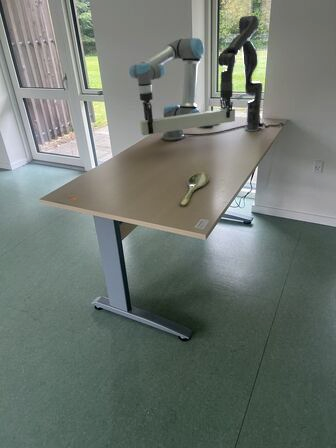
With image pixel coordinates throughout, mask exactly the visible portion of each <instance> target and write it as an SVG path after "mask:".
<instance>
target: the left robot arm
mask: <svg viewBox="0 0 336 448" xmlns="http://www.w3.org/2000/svg"><path fill="white" fill-rule="evenodd" d="M204 55H205V46H204V43H203V40H202V39H200V38H198V37H197V38H196V37H192V38H191V37H189V38H179V39H175V40H173V41H172V42H170V43H168V44H166V45H165V46H164V47H163V49H161V50H160V51H158V52H157V53H155V54H153V55H152V56H150V57H148V58H146V59H145V60H143V61H141V62H140V63H138V64H132V65H130V66H129V69H128V70H129V75H130V77H131V78H132V79H136V80H137V83H138V85H137V86H138V93H139V100H140V101H142V105H143V116H144V120H148V122H147V123H148V130H149V134H150V135H153V134H152V133H153V124H152V122H153V119H154V118H153V107H152V106H153V105H152V103H151V102H150V101H151V100H153V99H154V96H153V85H152V81H153V80H158V79H160V78H161V79H162V78H163V77H164V76H165V73H166V70H165V67H164V64H166V63H168V62H172V61H174V60H179V59H181V61H182V63H183V64H184V65H183V82H182V83H183V84H182V99H181V100H182V101H181V104H171V105H166V106H165V107H164V108H163V118H165V117H171V116H178V115H185V114H192V113H199V112H200V110H199V109H198V108H197V107H198V106H197V104H196V92H197V91H196V89H197V76H198V66H199V64H200V63H201V60H202V59H203V57H204ZM239 128H246V124H244V125H240V126H236V127H231V128H228V129H224V130H220V131H214V132H206V133H184V132H183V129H182V130H176V131H169V132H163V135H162V139H163V140H164V141H167V142H176V141H180V140H182V139H184V137H185V136H187V135H188V136H204V135H205V136H206V135H214V134H219V133H224V132H227V131H232V130H236V129H239Z"/></svg>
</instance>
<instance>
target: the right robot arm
mask: <svg viewBox="0 0 336 448" xmlns="http://www.w3.org/2000/svg"><path fill="white" fill-rule="evenodd" d="M259 22H260V21H259V18H258V16H257V15H245V16H241V17H240V18H239V20H238V31H239V34H238V35H236V36H235V37H234V38H233V39H232V40H231V41H230V43H229V44H228V46H227V47H226V48H225V49H224V50H222V51H221V52H220V54H219V55H218V56H217V64H218V66H220V67H226V69H225V70H222V71H221V72H220V86H219V87H220V91H219V92H220V93H219V96H220V99H219V101H220V109H226V118H230V111H232V108H233V105H234V102H233V101H232V100H231V98H232V97H233V91H234V90H233V89H234V88H233V87H234V86H233V85H234V84H233V73H234V69H235V65H236V62H237V58H236V56H237V55H238V54H239V52H240V51H241V49H242V60H243V67H244V68H243V69H244V87H245V88H244V89H245V94H246V96H248V97H253V99H252V100H249V101H247V103H246V122H245V125H246V126H245V130H246V131H248V132H256V131H259V130H260V128H264V127H265V128H268V127H279V126H280V125H282V126H283V125H285V124H284V123H283V122H280V123H278V124H268V125H266V123H264V121H261V102H262V95H263V83H262V82H260V81H253V74H254V72H255V70H256V68H257V66H258V63H259V60H258V59H259V58H258V51H257V49H256V48H255V46H254V44H253V43H252V42H251V40H250V38H251V37H252V36H253V35H254V34H255V33H256V32H257V31H258V28H259V25H260V23H259ZM227 108H228V109H227ZM230 108H231V109H230Z"/></svg>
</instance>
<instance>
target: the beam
mask: <svg viewBox="0 0 336 448" xmlns="http://www.w3.org/2000/svg"><path fill="white" fill-rule="evenodd" d="M227 109H228V108H227ZM230 109H231V108H230ZM235 121H236V109H235V108H234V107H232V111H230V118H226V109H221V108H219V109H214V110H207V111H201V112H200V111H199V113H192V114H185V115H178V116H171V117H165V118H164V117H159V118H158V117H157V118H153V122H152V124H153V133H152V134H149V130H148V123H147V122H148V120H145V119H143V120H140V121H139V124H140V131H141V132H140V133H141V135H142V136H148V135H155V134H162V133H163V134H164V132H169V131H176V130H182V131H183V130H189V129H194V128H200V127H206V126H208V125H213V126H215V125H220V124H226V123H232V122H233V123H234V122H235Z"/></svg>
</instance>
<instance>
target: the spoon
mask: <svg viewBox="0 0 336 448" xmlns="http://www.w3.org/2000/svg"><path fill="white" fill-rule="evenodd" d="M209 180H210V176H209V174H208V173H206V172H203V171H200V172H199V171H198V172H195V173H194V174H192V175H191V176H189V178H188V180H187V185H188V187H189V188H188V189H189V190H188V192H187V193H186V195H185V196H184V197H183V198H182V200H181V202H180V206H183V207H185V206H187V205H188V203H189V201H190V199H191V197H192V195H193V193H194V191H196V190H197V189H199V188H201V187H203V186H205V185H206V184H207V183H208V182H209Z"/></svg>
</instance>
